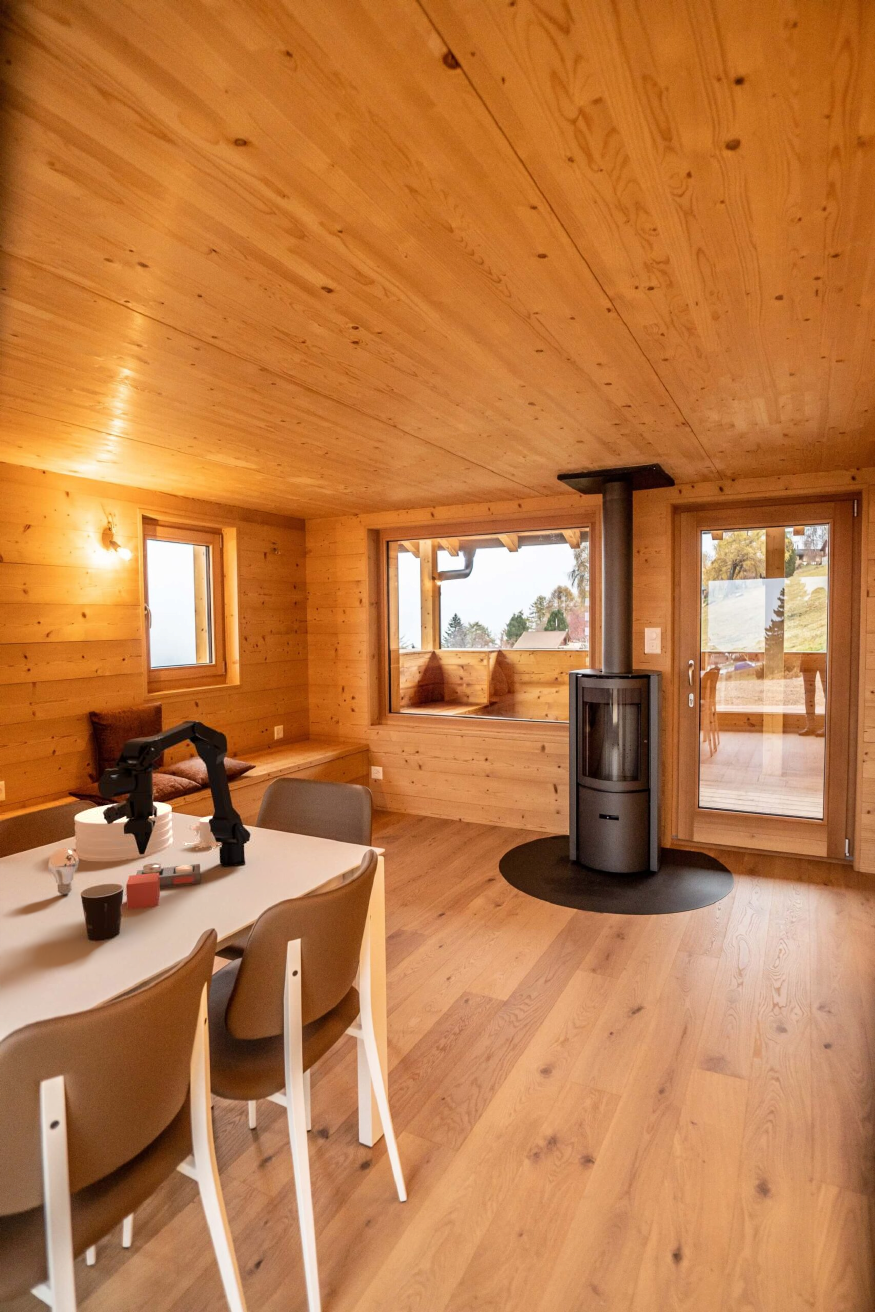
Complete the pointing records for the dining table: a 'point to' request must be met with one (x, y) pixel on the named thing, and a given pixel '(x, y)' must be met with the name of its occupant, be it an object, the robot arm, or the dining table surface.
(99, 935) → the coffee mug
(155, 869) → the chrome round knob
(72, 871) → the light bulb
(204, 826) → the tree stump
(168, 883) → the switch box
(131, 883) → the cap
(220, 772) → the robot arm
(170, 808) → the plate stack
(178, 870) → the cream switch
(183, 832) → the dining table surface
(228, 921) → the dining table surface
